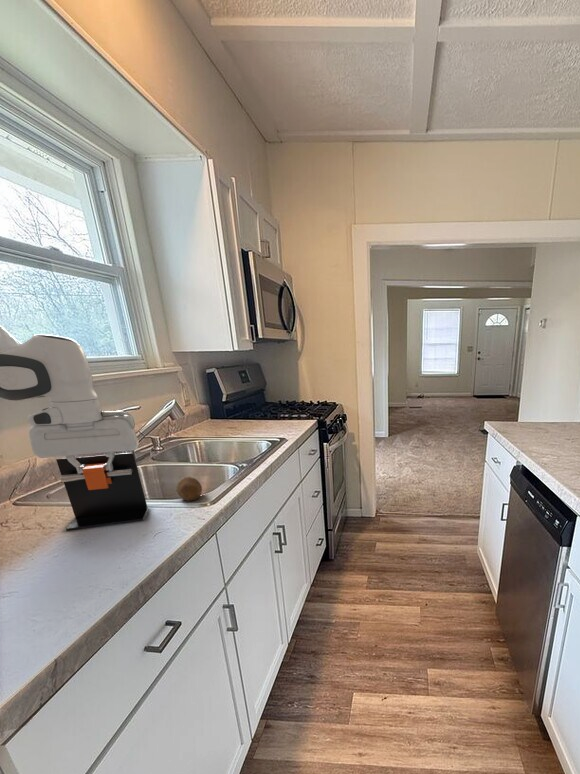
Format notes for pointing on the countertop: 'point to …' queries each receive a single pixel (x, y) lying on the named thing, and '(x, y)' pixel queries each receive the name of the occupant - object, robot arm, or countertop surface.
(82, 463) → the oven panel
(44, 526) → the countertop surface
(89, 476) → the block
